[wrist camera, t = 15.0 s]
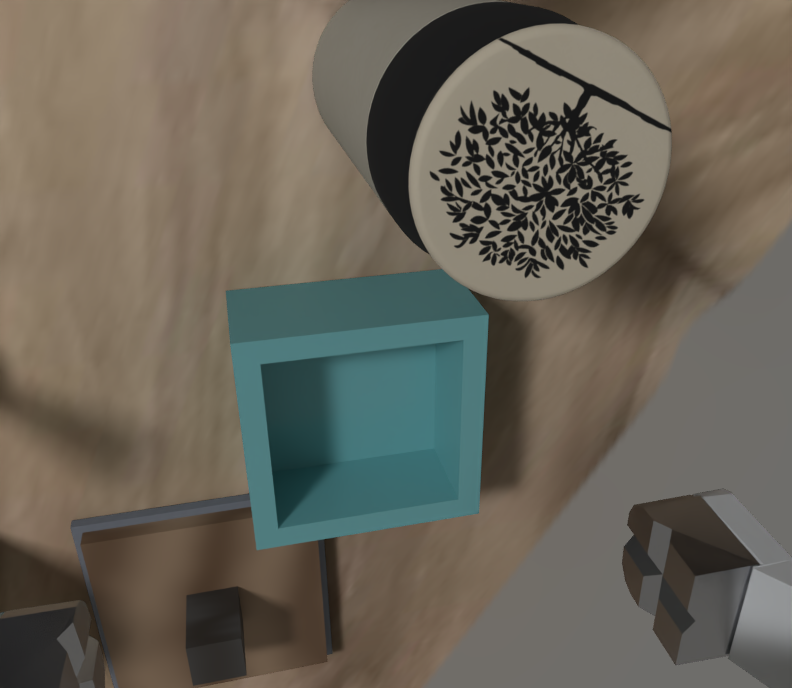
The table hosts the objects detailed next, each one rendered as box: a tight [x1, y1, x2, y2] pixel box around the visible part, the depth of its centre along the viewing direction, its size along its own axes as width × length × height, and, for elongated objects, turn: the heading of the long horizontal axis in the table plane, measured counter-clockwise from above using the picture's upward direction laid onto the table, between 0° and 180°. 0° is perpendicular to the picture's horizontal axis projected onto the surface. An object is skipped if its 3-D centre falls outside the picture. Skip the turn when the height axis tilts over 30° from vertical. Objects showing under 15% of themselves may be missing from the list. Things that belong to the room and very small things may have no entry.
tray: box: [71, 494, 332, 688], centre depth 47 cm, size 14×14×1 cm
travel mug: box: [312, 0, 672, 301], centre depth 28 cm, size 8×8×18 cm
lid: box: [80, 507, 327, 688], centre depth 45 cm, size 13×13×5 cm
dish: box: [226, 269, 489, 550], centre depth 40 cm, size 12×12×6 cm
